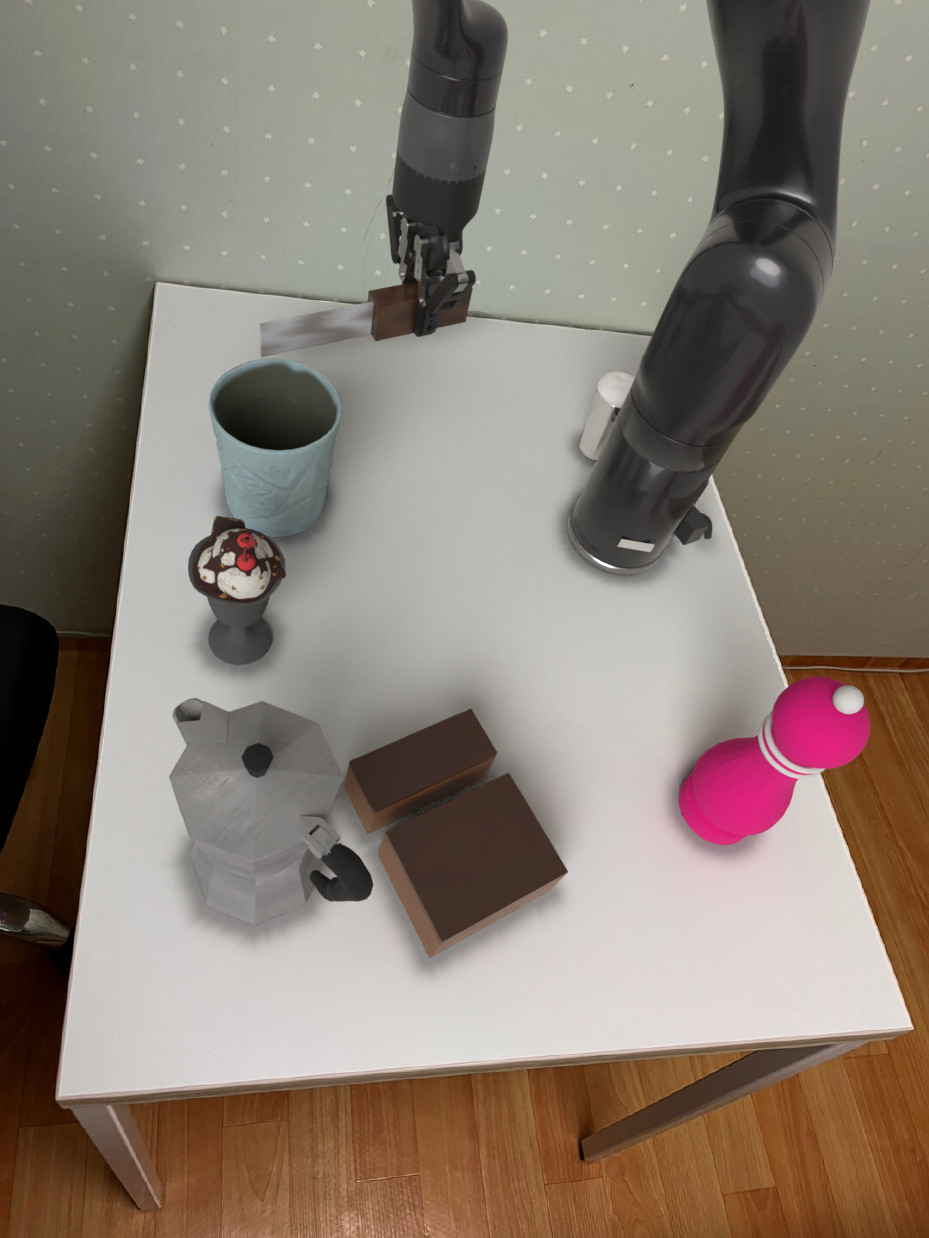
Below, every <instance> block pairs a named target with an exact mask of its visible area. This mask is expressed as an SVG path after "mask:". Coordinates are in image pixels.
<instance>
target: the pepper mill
mask: <svg viewBox="0 0 929 1238" xmlns="http://www.w3.org/2000/svg"><path fill="white" fill-rule="evenodd" d="M864 702H865V697H864V694H863V693H862V691H861V690H860V689H859V688H857V687H856V686H854V685H847V684H845V683H844V682H842V681H839V680H837V679H834V678H831V677H826V676H811V677H805V678H802V679H800V680H797V681H795V682H793V683H791V684H790V685H788V686H787V687H786V688H784V689H783V690H782V691H781V692H780V694H779V695H778V696H777V698H776V700H775V702H774V704H773V707H772V711H771V712H770V713H769V714H767V715H766V716H765V717H764V718H763V719H762V720H761V723H760V724H759V727H758V731H757V735H755V736H751V737H736V738H735V737H734V738H730V739H727V740H723V741H721V742H718V743H716V744H715V745H713V746H711V747H710V748H708V749H707V750H705V751H704V752H703V753H702V754H701V755H700V756H699V758H698V759H697V761H696V763H695V765H694V768H693V771H692V772H691V774H689V775H688V776H687V777H686V778H685V779H684V780H683V782H682V785H681V786H680V788H679V796H678V804H679V809H680V813H681V815H682V817H683V819H684V821H685V823H686V824H687V825H688V827H689V828H690V829H691V830H692V831H693V832H694V833H695V834H696V835H697V836H699V837H700V838H701V839H702V840H705V841H707V842H709V843H712V844H715V845H721V846H730V845H733V844H737V843H739V842H741V841H743V840H744V839H745V838H746V837H748V836H755V835H759V834H763V833H765V832H767V831H769V830H770V829H772V828H773V827H774V826H776V824H777V823H778V822H779V821H780V820H781V819H782V818H783V817H784V815H785V813H786V812H787V810H788V808H789V807H790V804H791V801H792V799H793V795H794V791H795V786H796V784H797V782H798V780H808V779H813V778H815V777H817V776H818V775H821V773H823V772H824V771H825V770H832V769H836V768H840V767H842V766H844V765H847V764H849V763H850V762H852V761H854V760H855V758H857V757H858V756H859V755H860V754H861V753H862V752H863V750H864V748H865V747H866V746H867V743H868V740H869V738H870V734H871V720H870V714H869V712H868V709H867V707H866V705H865V703H864Z"/></svg>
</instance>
